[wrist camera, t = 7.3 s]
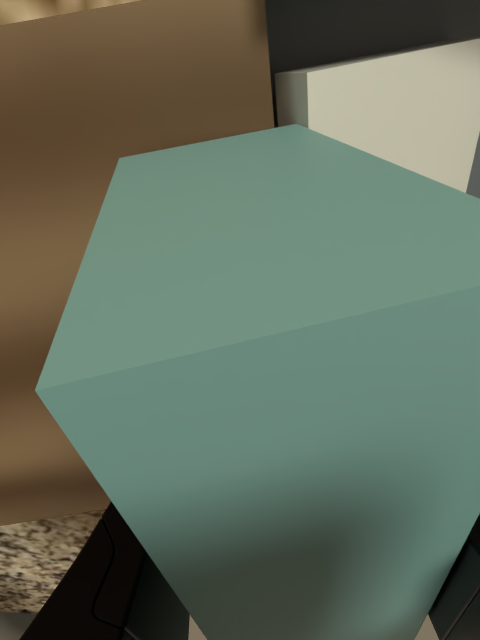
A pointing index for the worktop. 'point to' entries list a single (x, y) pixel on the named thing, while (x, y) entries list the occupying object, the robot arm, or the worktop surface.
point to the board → (95, 183)
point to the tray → (363, 35)
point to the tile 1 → (395, 106)
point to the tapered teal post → (280, 380)
